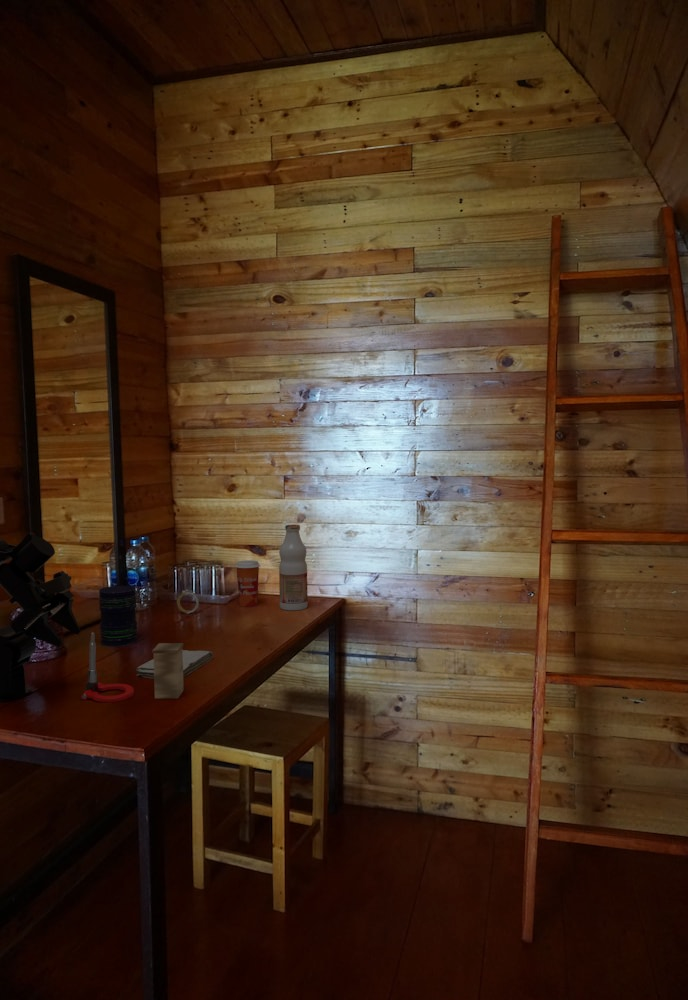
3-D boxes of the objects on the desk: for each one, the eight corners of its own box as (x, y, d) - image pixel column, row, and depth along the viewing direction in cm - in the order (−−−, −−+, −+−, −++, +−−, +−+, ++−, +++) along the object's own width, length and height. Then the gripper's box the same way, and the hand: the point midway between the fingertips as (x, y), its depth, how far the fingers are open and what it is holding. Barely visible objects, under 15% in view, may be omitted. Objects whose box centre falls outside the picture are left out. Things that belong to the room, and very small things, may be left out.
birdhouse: (153, 698, 147) (152, 650, 146) (164, 684, 156) (163, 638, 155) (178, 698, 147) (177, 650, 146) (188, 684, 156) (187, 638, 155)
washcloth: (133, 679, 161) (133, 666, 161) (172, 656, 178) (172, 645, 178) (178, 683, 158) (178, 670, 157) (213, 660, 175) (213, 648, 175)
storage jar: (94, 646, 186) (92, 581, 185) (108, 636, 196) (106, 574, 194) (130, 646, 186) (128, 581, 184) (142, 636, 195) (140, 574, 194)
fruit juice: (274, 607, 230) (272, 525, 228) (295, 603, 236) (294, 523, 234) (291, 612, 223) (290, 527, 221) (313, 607, 230) (312, 525, 228)
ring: (176, 614, 222) (175, 590, 221) (179, 612, 225) (179, 588, 224) (196, 614, 221) (196, 590, 220) (200, 612, 224) (199, 588, 224)
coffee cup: (234, 607, 230) (233, 563, 229) (238, 602, 239) (238, 559, 238) (258, 607, 230) (258, 563, 229) (262, 602, 238) (261, 559, 237)
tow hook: (140, 690, 153) (98, 687, 154) (141, 629, 152) (98, 626, 153) (123, 705, 144) (78, 702, 145) (123, 641, 143) (78, 638, 144)
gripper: (25, 569, 137) (78, 626, 138) (66, 554, 156) (112, 604, 157) (-13, 605, 138) (40, 661, 139) (31, 586, 157) (78, 636, 158)
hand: (70, 639), depth 148 cm, fingers open, 9 cm apart
